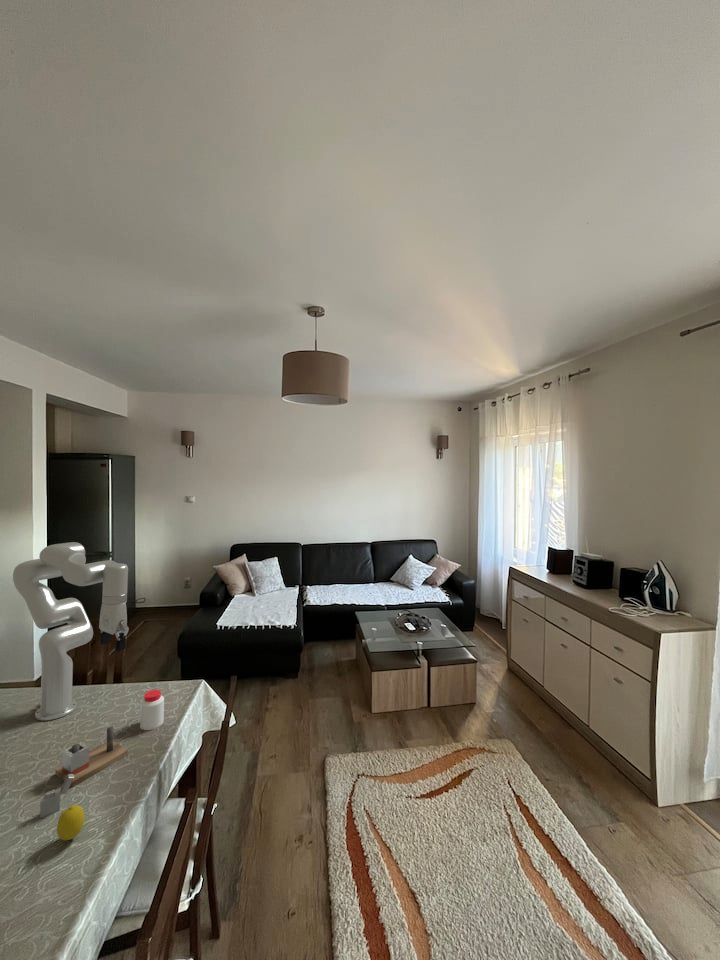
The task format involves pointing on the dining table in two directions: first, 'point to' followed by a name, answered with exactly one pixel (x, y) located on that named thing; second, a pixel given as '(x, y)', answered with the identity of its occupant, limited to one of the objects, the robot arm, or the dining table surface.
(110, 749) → the pin board
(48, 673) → the robot arm
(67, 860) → the dining table surface
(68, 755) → the sleeve
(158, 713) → the pill bottle
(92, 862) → the dining table surface
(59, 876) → the dining table surface
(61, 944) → the dining table surface
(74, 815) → the lemon
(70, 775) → the grey flat piece
